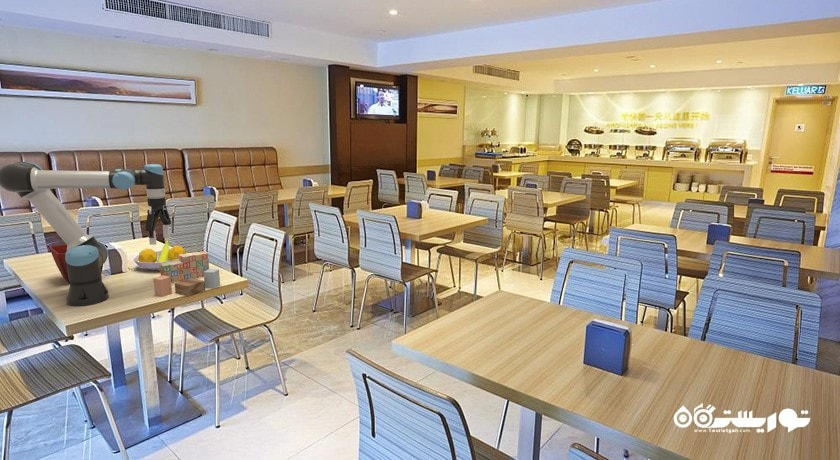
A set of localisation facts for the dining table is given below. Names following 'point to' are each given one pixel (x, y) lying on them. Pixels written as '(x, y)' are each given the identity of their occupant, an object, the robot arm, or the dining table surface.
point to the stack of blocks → (186, 266)
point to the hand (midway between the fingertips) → (160, 241)
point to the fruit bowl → (158, 256)
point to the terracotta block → (162, 285)
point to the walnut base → (189, 286)
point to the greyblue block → (211, 278)
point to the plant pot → (62, 259)
